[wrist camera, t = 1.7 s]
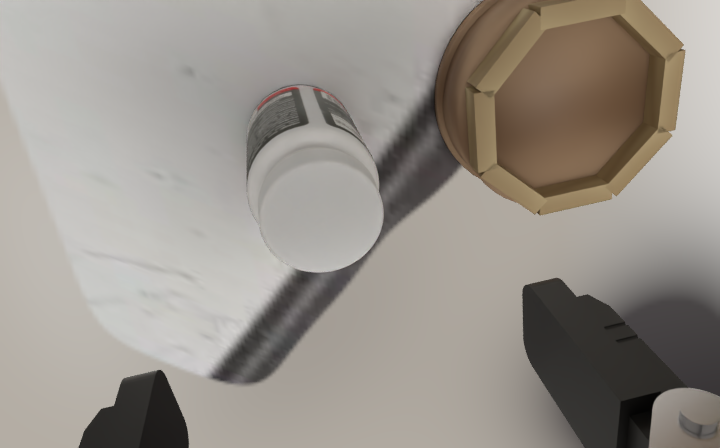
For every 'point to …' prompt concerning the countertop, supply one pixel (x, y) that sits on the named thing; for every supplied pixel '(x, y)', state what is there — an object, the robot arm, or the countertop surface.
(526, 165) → the octagonal tan dish
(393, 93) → the countertop surface
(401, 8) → the countertop surface
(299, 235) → the pill bottle
